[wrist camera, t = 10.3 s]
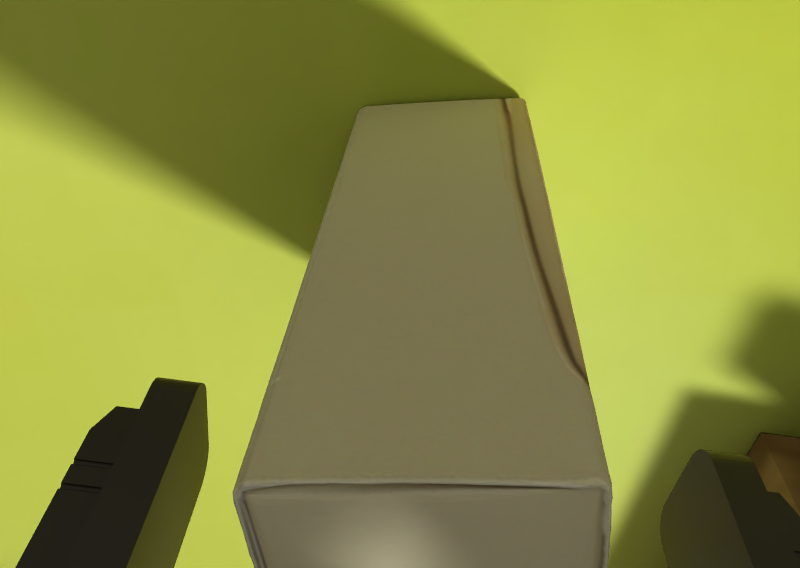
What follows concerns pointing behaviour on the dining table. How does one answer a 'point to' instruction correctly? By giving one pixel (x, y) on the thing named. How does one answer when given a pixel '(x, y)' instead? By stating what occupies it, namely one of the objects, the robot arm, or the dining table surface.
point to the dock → (779, 465)
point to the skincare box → (431, 365)
